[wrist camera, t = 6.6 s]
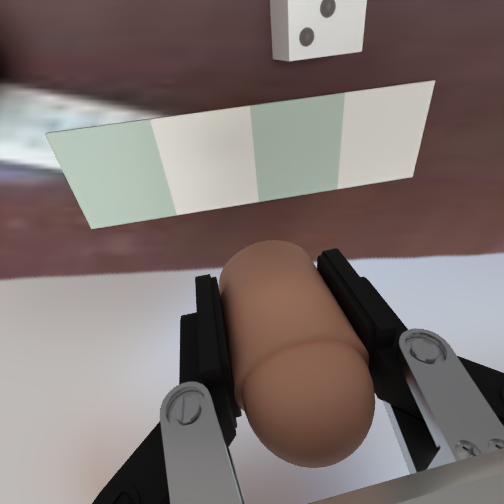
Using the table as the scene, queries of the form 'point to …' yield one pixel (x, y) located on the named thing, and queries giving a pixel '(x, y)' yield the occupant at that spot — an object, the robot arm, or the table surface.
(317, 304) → the pawn
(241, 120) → the board
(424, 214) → the table surface
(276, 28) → the die
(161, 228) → the table surface
